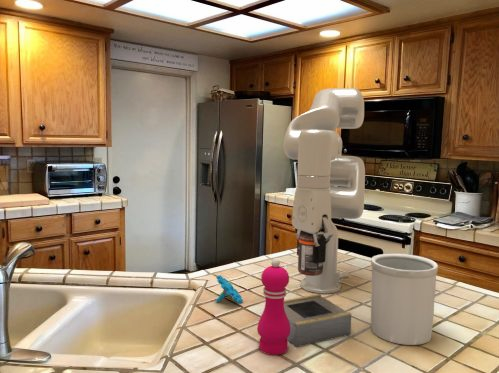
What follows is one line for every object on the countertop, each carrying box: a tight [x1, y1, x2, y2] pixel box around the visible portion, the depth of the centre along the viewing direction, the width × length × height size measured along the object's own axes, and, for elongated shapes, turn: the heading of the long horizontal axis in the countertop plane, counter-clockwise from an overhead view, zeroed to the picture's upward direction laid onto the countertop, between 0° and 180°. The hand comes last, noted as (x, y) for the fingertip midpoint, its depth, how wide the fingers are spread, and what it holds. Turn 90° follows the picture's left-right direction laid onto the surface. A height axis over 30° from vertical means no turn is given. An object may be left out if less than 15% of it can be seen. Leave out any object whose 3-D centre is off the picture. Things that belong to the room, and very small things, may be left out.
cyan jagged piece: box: [215, 274, 244, 304], centre depth 117 cm, size 11×6×10 cm
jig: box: [284, 293, 352, 348], centre depth 101 cm, size 15×13×5 cm
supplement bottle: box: [297, 230, 323, 276], centre depth 98 cm, size 6×6×11 cm
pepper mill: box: [256, 258, 290, 356], centre depth 90 cm, size 7×7×20 cm
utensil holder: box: [370, 253, 439, 346], centre depth 99 cm, size 15×15×18 cm
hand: (310, 258), depth 99 cm, fingers closed on supplement bottle, 6 cm apart
